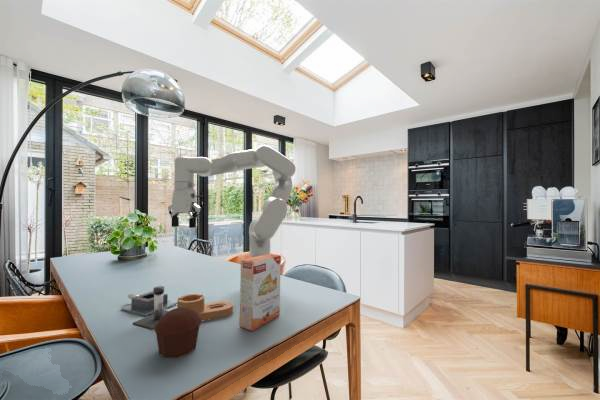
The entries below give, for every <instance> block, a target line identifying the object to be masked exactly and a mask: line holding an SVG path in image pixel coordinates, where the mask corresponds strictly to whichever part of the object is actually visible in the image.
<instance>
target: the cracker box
mask: <svg viewBox="0 0 600 400" xmlns="http://www.w3.org/2000/svg"><path fill="white" fill-rule="evenodd" d="M281 261H282V256H281V255H279V254H276V253H274V254H273V253H270V254H265V255H261V256H257V257H252V258H249V257H248V258H244V259H241V260H240V282H239V283H240V284H239V285H240V286H239V320H238V323H239V324H238V325H239V326H238V327H240V328H242V329H245V330H247V331H250V332H254V331H255V330H257V329H259V328H260V327H262V326H264V325H265V324H267V323H269V322H270V321H273V320H274V319H276V318H278V317H280V307H281V306H280V303H281V269H282V268H281V266H282V265H281V264H282V262H281Z"/></svg>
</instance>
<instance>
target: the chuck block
mask: <svg viewBox="0 0 600 400" xmlns="http://www.w3.org/2000/svg"><path fill="white" fill-rule="evenodd" d="M168 296H169V295H168V294H167V293H163V310H164V309H166V310H168V309H170V308H173V307H175V306H177V305H176V304H177V302H178V301H173V300H169V299H168V298H169V297H168ZM127 298H128V299H130V300H131V303H130V304H127V305H124V306H121V307H120V310H121V311H124V312H127V313H131V314H134V315H135V314H136V315H138V316H139V315H140V316H142V317H146V316H147V317H148V316H150V315H152V314H154V294H153V290H152V291H148V292H147V293H143V294H140V295H137V294H132V293H130V294H128V295H127ZM174 305H175V306H174ZM172 306H173V307H172ZM169 307H170V308H169ZM167 308H168V309H167Z"/></svg>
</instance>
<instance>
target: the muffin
mask: <svg viewBox="0 0 600 400" xmlns="http://www.w3.org/2000/svg"><path fill="white" fill-rule="evenodd" d="M201 324H202V321H201V317H200V316H199V315H198V314H197V313H196V312H195V311H194V310H192V309H190V308H186V307H181V308H177V307H175V308H173V309H171V310H169V312H167V313H166V314H165V315H163V316H162V317H161V318H160V319H159V321H158V322H157V324H156V325H155V328H154V329H153V330H154V332H155V334H156V336H155V337H156V340H157V341H156V342H157V348H158V354H159V355H160V356H162V357H163V358H166V359H167V358H169V359H170V358H172V359H173V358H175V359H177V358H180V357H183V356H187V355H189V354H190V353H191V352H193V351H194V350H195V349H196V347H197V341H198V336H199V329H200V325H201Z"/></svg>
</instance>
